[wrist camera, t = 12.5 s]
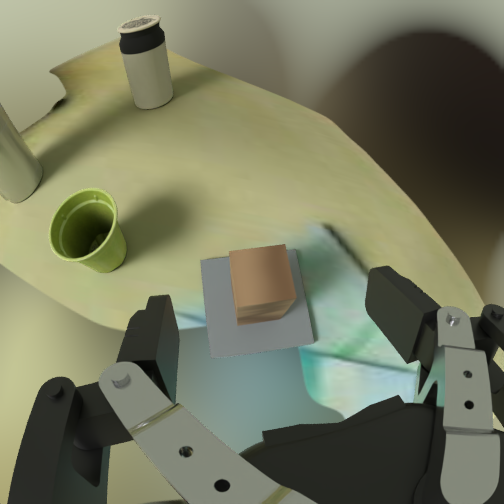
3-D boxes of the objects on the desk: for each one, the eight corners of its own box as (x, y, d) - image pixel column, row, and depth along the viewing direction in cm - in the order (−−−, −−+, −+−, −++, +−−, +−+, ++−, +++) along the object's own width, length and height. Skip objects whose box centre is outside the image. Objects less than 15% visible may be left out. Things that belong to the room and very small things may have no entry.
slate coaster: (211, 358, 32) (210, 358, 31) (201, 262, 36) (200, 260, 36) (312, 343, 33) (314, 343, 32) (294, 251, 38) (295, 249, 37)
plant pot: (146, 224, 38) (126, 188, 30) (130, 290, 34) (102, 265, 27) (90, 220, 38) (65, 187, 30) (72, 280, 34) (38, 255, 26)
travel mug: (163, 111, 48) (147, 29, 31) (128, 109, 48) (106, 34, 32) (179, 88, 51) (170, 12, 34) (146, 87, 51) (131, 16, 35)
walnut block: (237, 325, 33) (237, 306, 24) (231, 284, 35) (229, 251, 25) (279, 319, 33) (296, 298, 24) (272, 279, 35) (284, 244, 26)
